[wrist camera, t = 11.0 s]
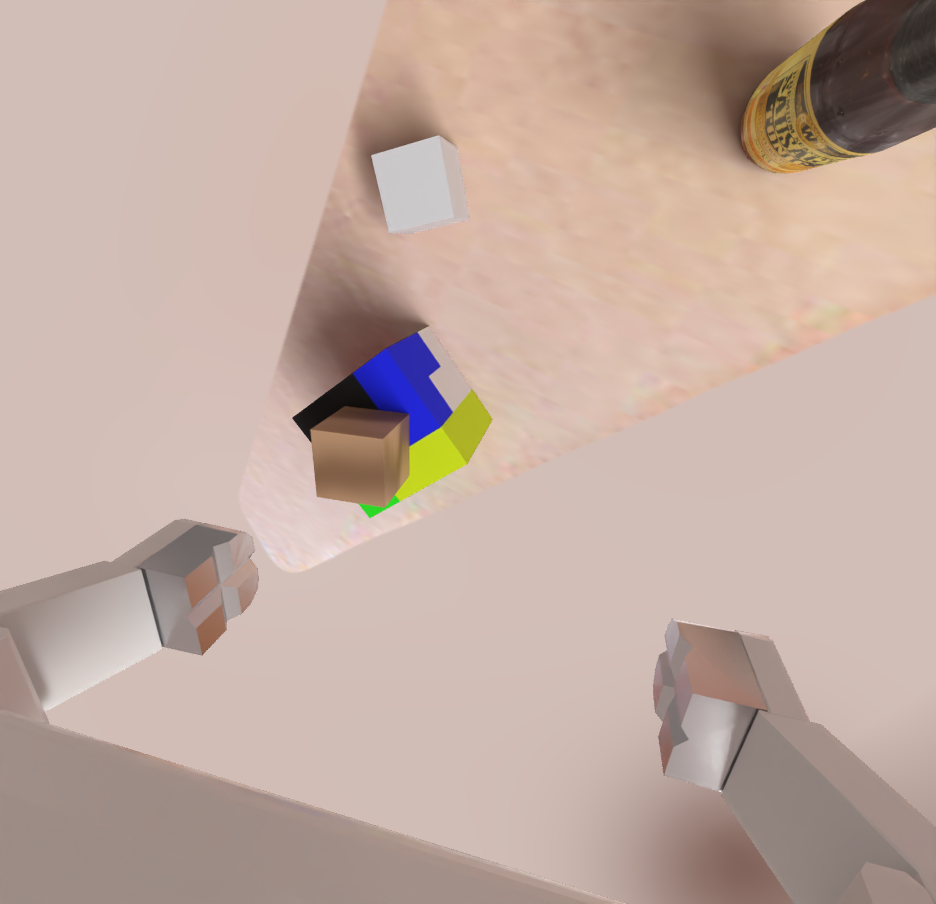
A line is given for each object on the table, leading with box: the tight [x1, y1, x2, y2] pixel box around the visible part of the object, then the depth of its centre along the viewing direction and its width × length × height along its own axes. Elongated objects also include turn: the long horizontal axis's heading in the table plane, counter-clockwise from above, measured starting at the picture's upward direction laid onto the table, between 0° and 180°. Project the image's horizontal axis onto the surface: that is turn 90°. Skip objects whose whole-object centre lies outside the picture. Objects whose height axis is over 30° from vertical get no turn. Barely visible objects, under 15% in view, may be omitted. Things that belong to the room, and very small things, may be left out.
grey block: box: [371, 135, 470, 234], centre depth 36 cm, size 5×5×5 cm
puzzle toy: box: [292, 326, 493, 518], centre depth 41 cm, size 10×10×10 cm
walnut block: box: [310, 406, 410, 508], centre depth 34 cm, size 5×5×5 cm
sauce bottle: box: [740, 0, 936, 173], centre depth 23 cm, size 6×6×20 cm
